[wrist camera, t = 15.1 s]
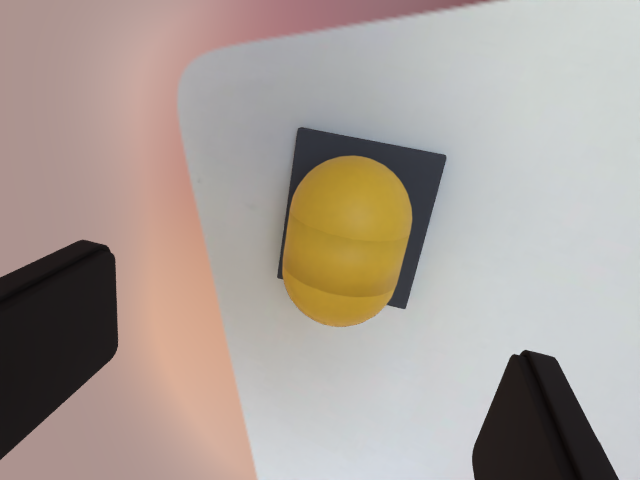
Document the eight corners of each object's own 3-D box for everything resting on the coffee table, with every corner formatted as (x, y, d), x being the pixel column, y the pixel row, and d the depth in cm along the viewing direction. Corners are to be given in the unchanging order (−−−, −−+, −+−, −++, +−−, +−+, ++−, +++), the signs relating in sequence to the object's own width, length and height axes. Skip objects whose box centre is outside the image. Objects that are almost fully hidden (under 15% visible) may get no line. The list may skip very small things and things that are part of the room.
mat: (300, 127, 20) (297, 127, 20) (446, 155, 19) (447, 156, 19) (280, 274, 23) (276, 278, 23) (405, 304, 22) (405, 310, 22)
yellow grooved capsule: (315, 139, 20) (282, 152, 15) (425, 160, 19) (427, 182, 14) (293, 281, 22) (259, 331, 18) (388, 305, 22) (380, 364, 17)
